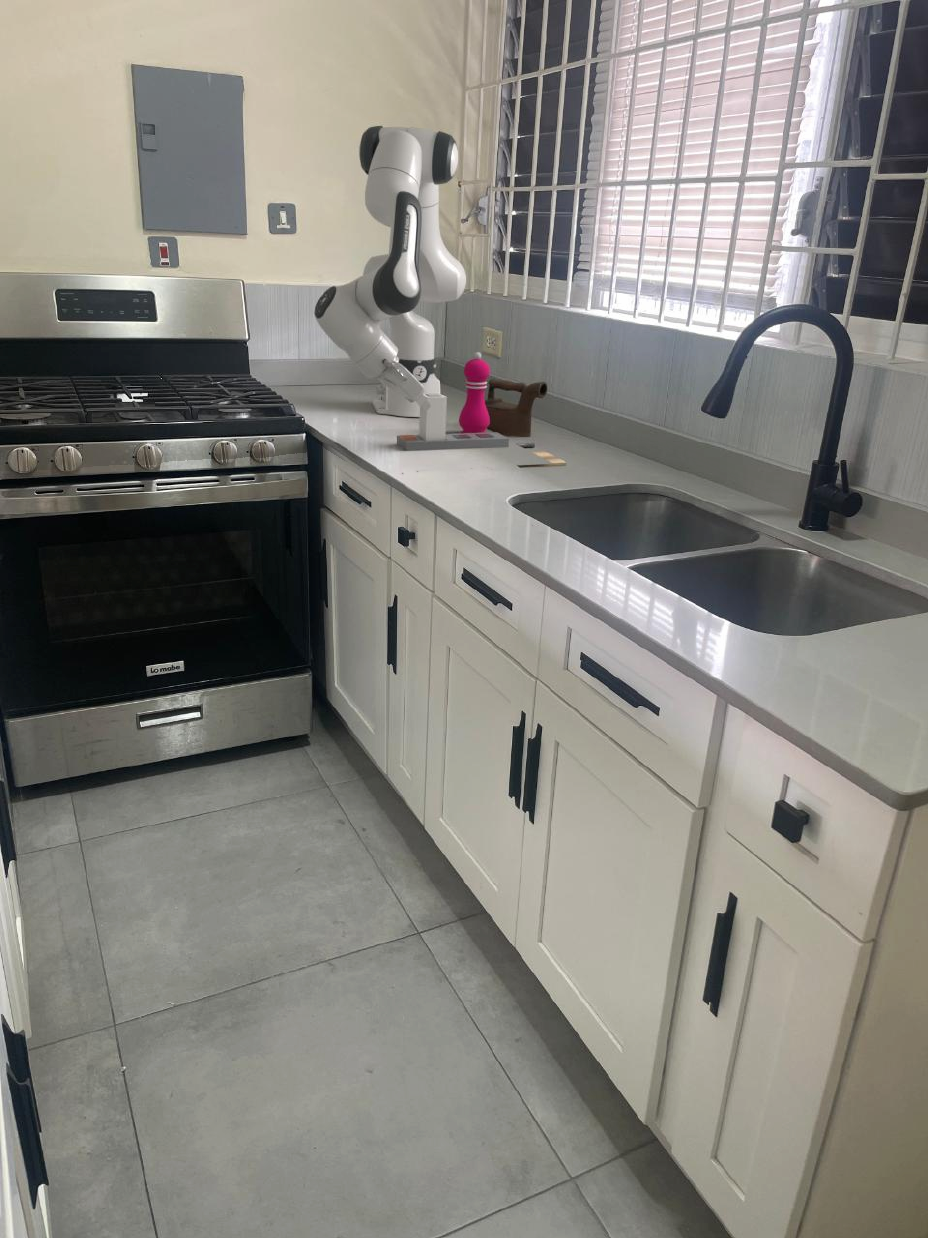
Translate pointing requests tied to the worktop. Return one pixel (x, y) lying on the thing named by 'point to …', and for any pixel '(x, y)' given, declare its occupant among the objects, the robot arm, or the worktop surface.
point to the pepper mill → (475, 397)
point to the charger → (433, 418)
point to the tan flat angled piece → (548, 457)
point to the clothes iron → (513, 407)
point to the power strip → (457, 442)
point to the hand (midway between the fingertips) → (420, 403)
